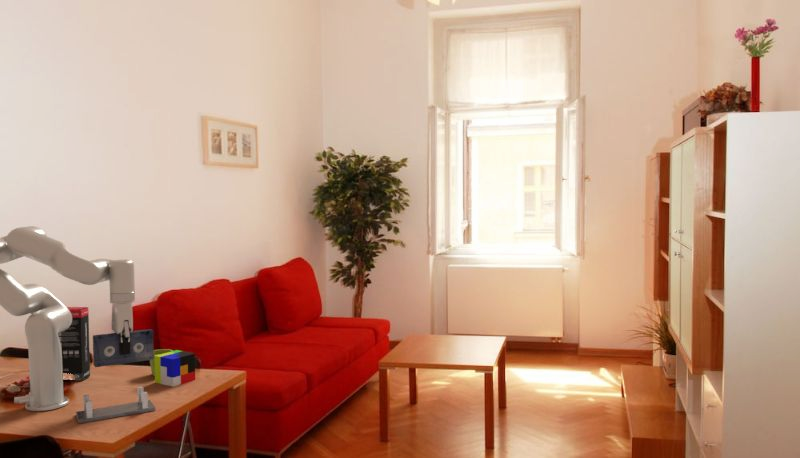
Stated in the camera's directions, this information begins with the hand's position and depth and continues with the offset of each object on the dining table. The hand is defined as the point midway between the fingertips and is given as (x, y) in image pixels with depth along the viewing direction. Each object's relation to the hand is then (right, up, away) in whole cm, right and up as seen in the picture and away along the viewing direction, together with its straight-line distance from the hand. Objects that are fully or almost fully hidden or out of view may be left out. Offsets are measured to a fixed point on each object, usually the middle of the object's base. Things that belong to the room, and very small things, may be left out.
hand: (123, 352), depth 215 cm
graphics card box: (-35, -16, +30) cm, 48 cm away
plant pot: (-1, -15, +36) cm, 39 cm away
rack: (+1, -17, -8) cm, 19 cm away
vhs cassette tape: (0, -3, 0) cm, 3 cm away
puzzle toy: (+8, -16, +27) cm, 32 cm away
